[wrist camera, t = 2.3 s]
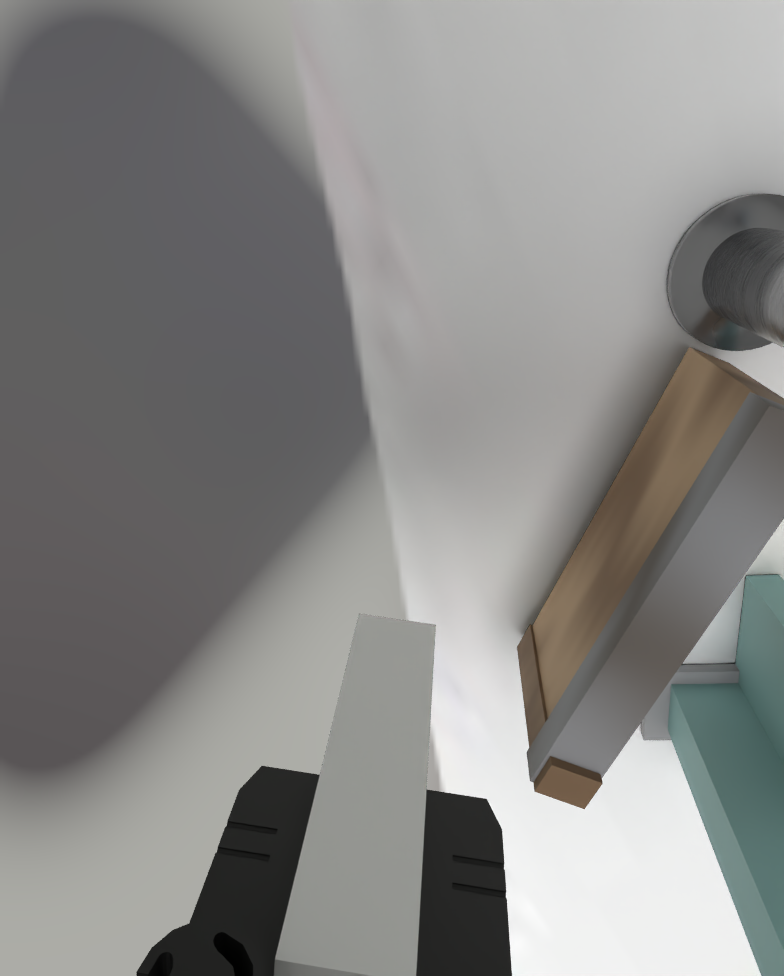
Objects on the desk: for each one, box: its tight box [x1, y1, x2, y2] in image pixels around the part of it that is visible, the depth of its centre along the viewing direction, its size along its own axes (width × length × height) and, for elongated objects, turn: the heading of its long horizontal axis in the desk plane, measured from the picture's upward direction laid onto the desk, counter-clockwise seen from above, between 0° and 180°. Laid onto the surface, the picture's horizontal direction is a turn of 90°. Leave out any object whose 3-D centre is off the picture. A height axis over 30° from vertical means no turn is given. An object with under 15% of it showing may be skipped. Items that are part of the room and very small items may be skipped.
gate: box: [517, 347, 784, 809], centre depth 18 cm, size 11×2×6 cm, turn 160°
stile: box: [641, 575, 784, 976], centre depth 19 cm, size 6×4×10 cm, turn 5°
